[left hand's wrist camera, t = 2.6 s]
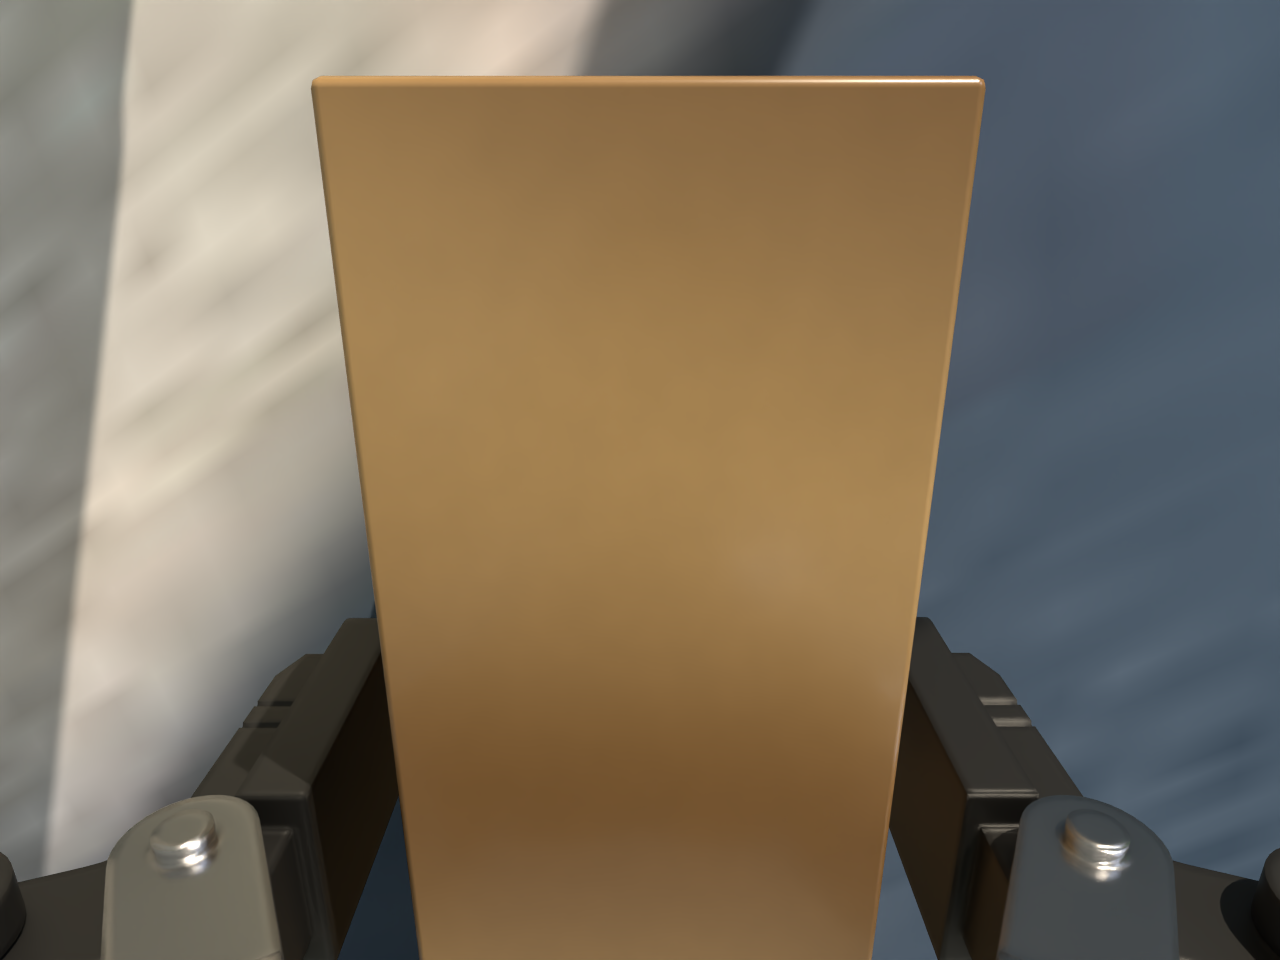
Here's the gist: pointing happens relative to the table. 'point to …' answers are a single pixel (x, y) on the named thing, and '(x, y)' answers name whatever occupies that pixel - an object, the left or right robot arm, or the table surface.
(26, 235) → the table surface
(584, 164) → the post
